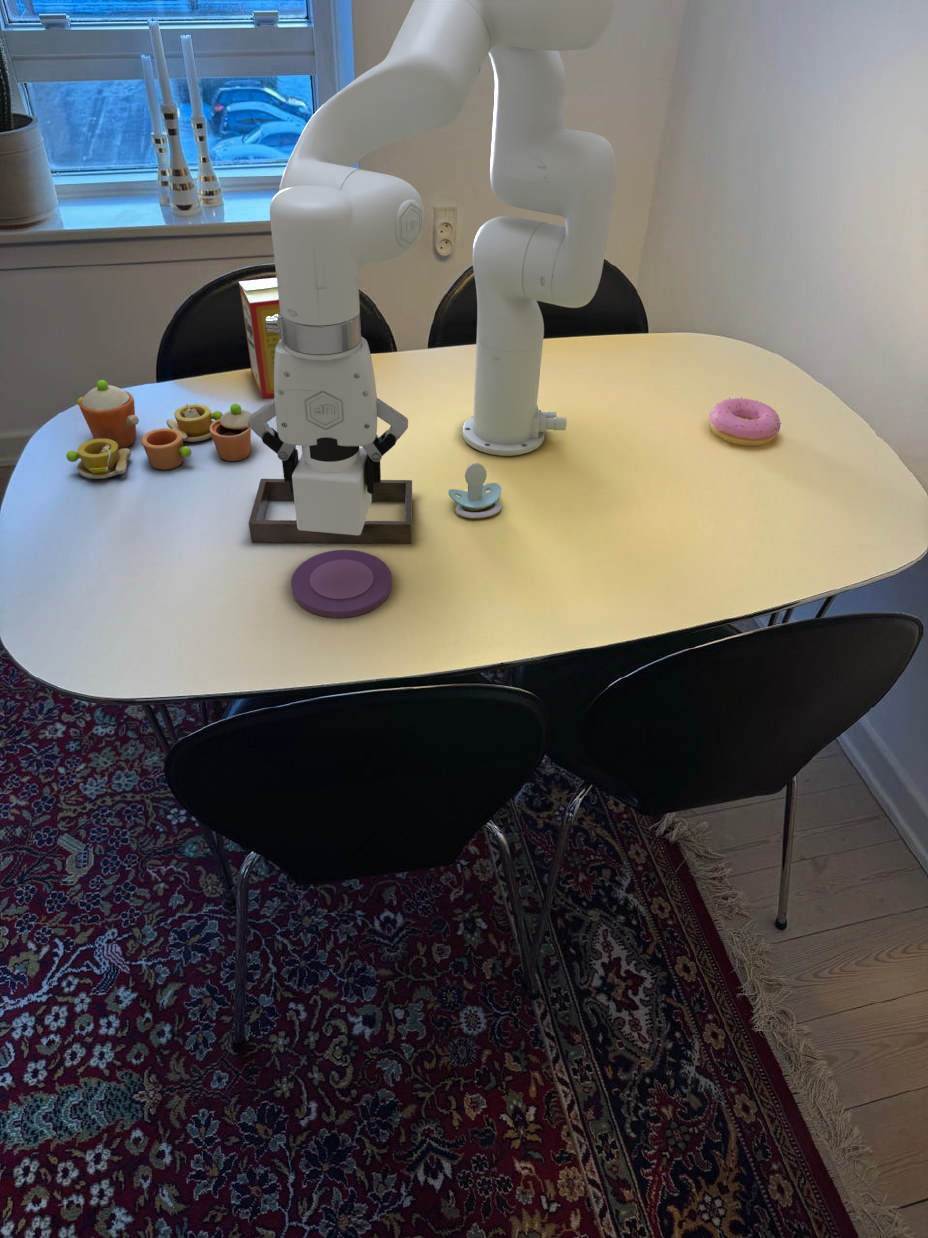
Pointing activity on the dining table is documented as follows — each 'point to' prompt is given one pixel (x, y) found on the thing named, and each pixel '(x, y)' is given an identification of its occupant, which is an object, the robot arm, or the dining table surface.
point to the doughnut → (744, 421)
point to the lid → (341, 583)
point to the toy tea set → (152, 433)
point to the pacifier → (477, 494)
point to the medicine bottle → (331, 488)
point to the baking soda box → (261, 330)
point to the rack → (370, 533)
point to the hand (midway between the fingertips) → (333, 485)
